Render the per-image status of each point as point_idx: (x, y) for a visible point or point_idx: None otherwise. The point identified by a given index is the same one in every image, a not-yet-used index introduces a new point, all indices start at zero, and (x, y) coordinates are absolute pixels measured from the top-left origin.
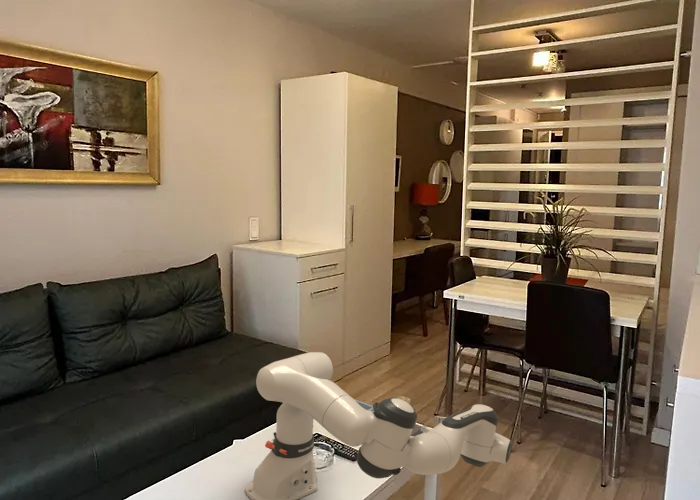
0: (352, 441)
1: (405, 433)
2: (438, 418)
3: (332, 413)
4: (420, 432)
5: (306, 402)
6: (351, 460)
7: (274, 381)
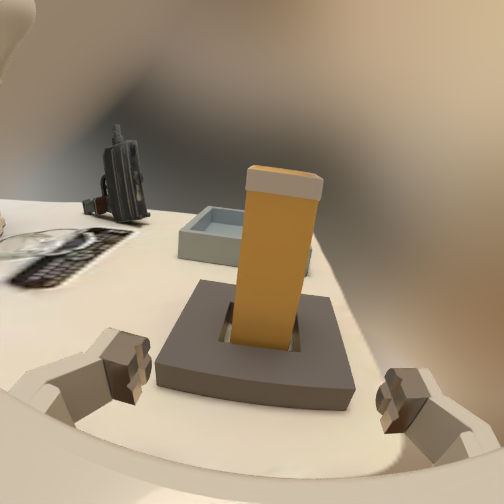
0: None
1: None
2: (405, 398)
3: None
4: (318, 403)
5: None
6: (10, 278)
7: None
